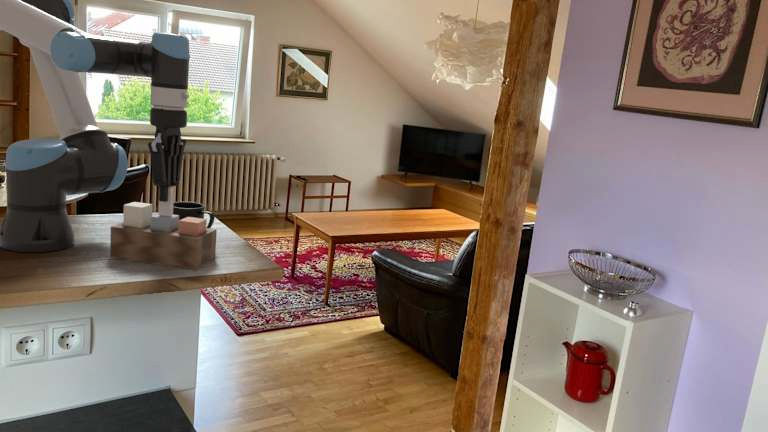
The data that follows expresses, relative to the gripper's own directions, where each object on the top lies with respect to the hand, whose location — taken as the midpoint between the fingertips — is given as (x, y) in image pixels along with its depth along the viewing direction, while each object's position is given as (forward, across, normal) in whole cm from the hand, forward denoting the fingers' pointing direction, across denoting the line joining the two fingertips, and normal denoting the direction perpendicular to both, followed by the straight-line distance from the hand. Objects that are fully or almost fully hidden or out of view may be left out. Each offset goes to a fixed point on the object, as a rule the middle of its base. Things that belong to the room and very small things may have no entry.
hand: (165, 214), depth 141 cm
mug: (+10, +14, 0) cm, 17 cm away
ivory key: (+6, 0, +7) cm, 9 cm away
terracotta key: (+7, 0, -6) cm, 10 cm away
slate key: (+7, 0, 0) cm, 7 cm away
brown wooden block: (+10, 0, 0) cm, 10 cm away
